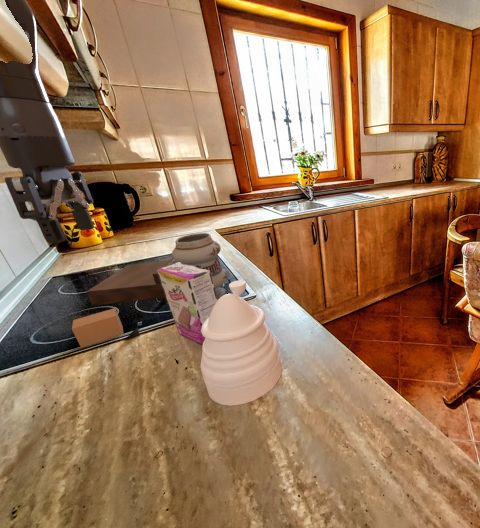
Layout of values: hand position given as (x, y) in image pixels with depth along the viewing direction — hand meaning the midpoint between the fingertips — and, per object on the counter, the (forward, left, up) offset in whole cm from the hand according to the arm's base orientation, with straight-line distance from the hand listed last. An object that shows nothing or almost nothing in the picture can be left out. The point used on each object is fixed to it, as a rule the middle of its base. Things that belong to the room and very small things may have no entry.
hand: (73, 235), depth 49 cm
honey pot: (+27, -13, -26) cm, 40 cm away
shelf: (-9, +31, -25) cm, 41 cm away
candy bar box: (+15, +2, -26) cm, 30 cm away
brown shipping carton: (-5, +5, -25) cm, 26 cm away
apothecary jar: (+11, +22, -26) cm, 35 cm away
